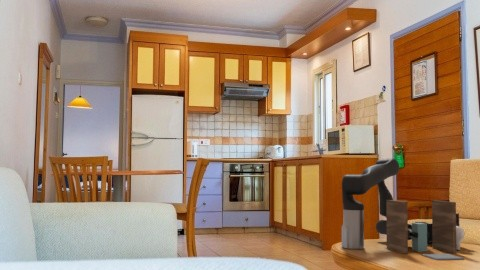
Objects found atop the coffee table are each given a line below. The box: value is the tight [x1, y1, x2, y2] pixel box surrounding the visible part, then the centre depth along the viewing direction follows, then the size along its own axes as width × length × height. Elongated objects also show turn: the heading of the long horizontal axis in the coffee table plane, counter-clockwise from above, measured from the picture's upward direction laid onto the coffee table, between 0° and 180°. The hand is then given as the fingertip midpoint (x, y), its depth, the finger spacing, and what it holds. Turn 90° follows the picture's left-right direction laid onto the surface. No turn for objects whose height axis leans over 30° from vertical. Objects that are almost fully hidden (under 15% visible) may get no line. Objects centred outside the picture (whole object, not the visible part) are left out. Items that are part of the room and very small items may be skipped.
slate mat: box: [421, 253, 465, 261], centre depth 207 cm, size 12×11×1 cm
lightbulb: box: [456, 225, 465, 251], centre depth 229 cm, size 6×6×11 cm
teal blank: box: [411, 222, 428, 253], centre depth 226 cm, size 4×5×12 cm
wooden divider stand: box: [386, 199, 457, 255], centre depth 226 cm, size 24×16×22 cm, turn 101°
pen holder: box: [414, 221, 433, 245], centre depth 253 cm, size 9×9×10 cm
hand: (422, 235), depth 224 cm, fingers closed on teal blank, 4 cm apart
